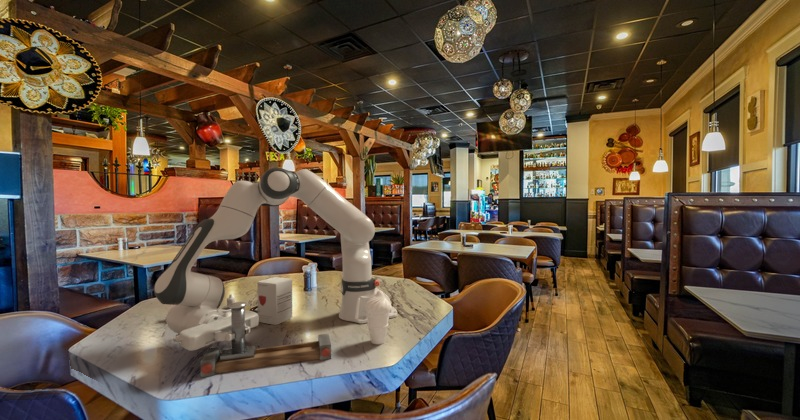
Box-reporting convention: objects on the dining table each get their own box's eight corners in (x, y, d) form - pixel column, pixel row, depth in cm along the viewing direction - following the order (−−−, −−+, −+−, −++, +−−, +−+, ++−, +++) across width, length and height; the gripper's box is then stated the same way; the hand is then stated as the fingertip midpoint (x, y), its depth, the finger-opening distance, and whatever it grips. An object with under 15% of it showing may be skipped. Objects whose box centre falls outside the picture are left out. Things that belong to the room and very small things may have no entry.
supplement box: (256, 322, 120) (256, 281, 120) (274, 314, 128) (274, 276, 128) (276, 325, 117) (275, 283, 116) (293, 317, 125) (292, 278, 125)
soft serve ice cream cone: (370, 349, 97) (370, 295, 96) (360, 339, 104) (360, 289, 104) (396, 343, 100) (395, 292, 100) (384, 334, 108) (384, 286, 108)
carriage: (255, 352, 91) (255, 300, 91) (253, 359, 87) (253, 304, 87) (223, 357, 89) (222, 303, 88) (220, 363, 85) (219, 307, 85)
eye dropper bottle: (234, 331, 111) (233, 296, 111) (219, 330, 112) (218, 295, 112) (242, 327, 115) (242, 293, 115) (228, 326, 116) (227, 292, 116)
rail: (328, 346, 99) (328, 333, 99) (331, 359, 91) (331, 344, 91) (209, 362, 89) (208, 347, 89) (200, 378, 81) (199, 362, 81)
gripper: (168, 326, 85) (201, 336, 78) (240, 304, 103) (271, 311, 96) (169, 350, 85) (201, 362, 78) (240, 324, 103) (271, 332, 96)
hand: (240, 333), depth 87 cm, fingers closed on carriage, 3 cm apart
